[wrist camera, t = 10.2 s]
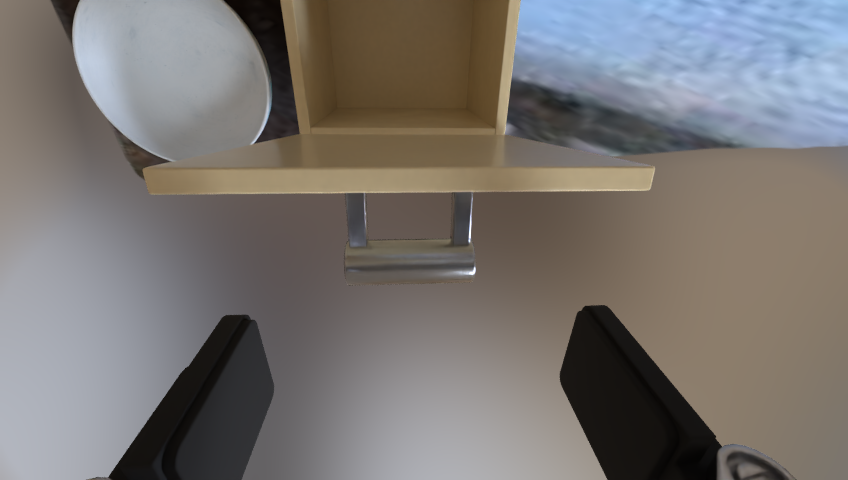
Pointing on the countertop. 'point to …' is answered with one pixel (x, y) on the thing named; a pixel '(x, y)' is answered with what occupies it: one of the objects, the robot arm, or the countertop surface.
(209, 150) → the chinaware
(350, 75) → the wooden box
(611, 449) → the robot arm
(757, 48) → the countertop surface
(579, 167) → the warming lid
